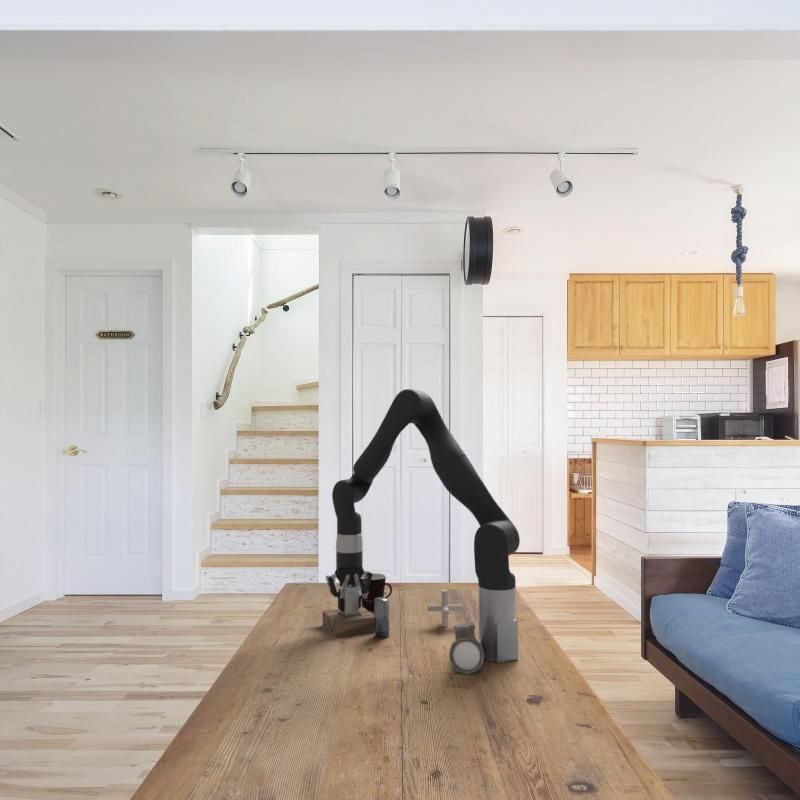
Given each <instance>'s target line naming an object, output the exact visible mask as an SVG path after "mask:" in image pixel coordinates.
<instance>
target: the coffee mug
mask: <svg viewBox="0 0 800 800" xmlns="http://www.w3.org/2000/svg"><path fill="white" fill-rule="evenodd" d="M371 573H372V574H373V576H372V579H371V582H370V585H369V589H368V592H367V593H366V594H365V593H364V594H363V595H362V596H361V606H362V607H363V608H365V609H366V610H368V611H369V612H374V599H375V598H379V597H385V598H390V596H391V595H392V593H393V587H392V585H391V584H390V583H388V582H386V579H387V577H386V574H383V573H375V572H371ZM363 580H364V578H363V575H362V577H361V579H360V580H359V582H360V586H361V587H362V583H363ZM386 586H387V587H388V588H389V593H388V594H387V595H386V596H385V588H386Z"/></svg>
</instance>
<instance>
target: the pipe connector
mask: <svg viewBox="0 0 800 800" xmlns="http://www.w3.org/2000/svg"><path fill="white" fill-rule="evenodd" d="M426 606H427V612H441V626H442V627H444V628H445V627H449V615H450V612H463V604H449V590H447V589H441V601H440V604H427V605H426Z"/></svg>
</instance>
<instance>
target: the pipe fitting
mask: <svg viewBox="0 0 800 800" xmlns="http://www.w3.org/2000/svg"><path fill="white" fill-rule="evenodd" d="M475 629H476V624H475V623H473V622H463V623H456V624H454V625H453V630H454V633H455V636H454V637H455V640H454V641H453V642H452V643H451V646H450V649H449V653H448V657H449V663H450V664H451V666H452V667H453V668H454V670H455V671H456V672H458V673H459V674H463V675H471V674H474V673H476V672H478V671H479V670H480V669H481V667H482V666H483V664H484V660H485V659H484V652H483V648H482V646H481V644H480V643H479V640H478V639H477V638H476V634H475Z"/></svg>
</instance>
